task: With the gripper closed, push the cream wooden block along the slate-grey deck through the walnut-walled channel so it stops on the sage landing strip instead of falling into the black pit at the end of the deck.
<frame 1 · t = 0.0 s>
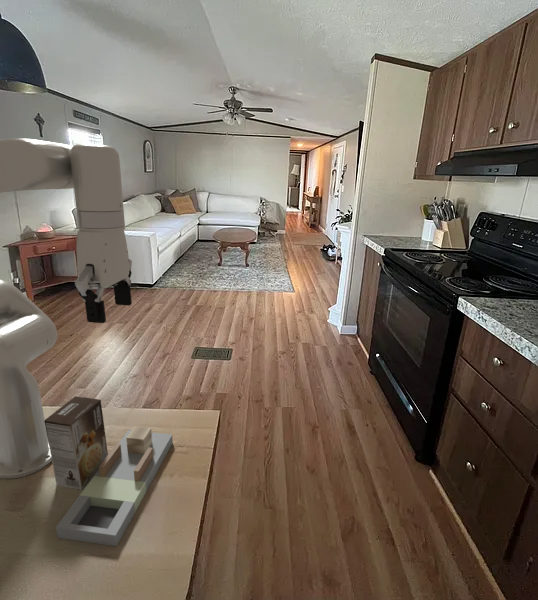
hand: (111, 312, 70), 37 cm above the table, tool pointing down, fingers open, 9 cm apart
tunnel deck: (124, 483, 78), on the table
cream block: (140, 447, 85), point 2 cm above the table, touching tunnel deck
coffee box: (83, 473, 81), on the table
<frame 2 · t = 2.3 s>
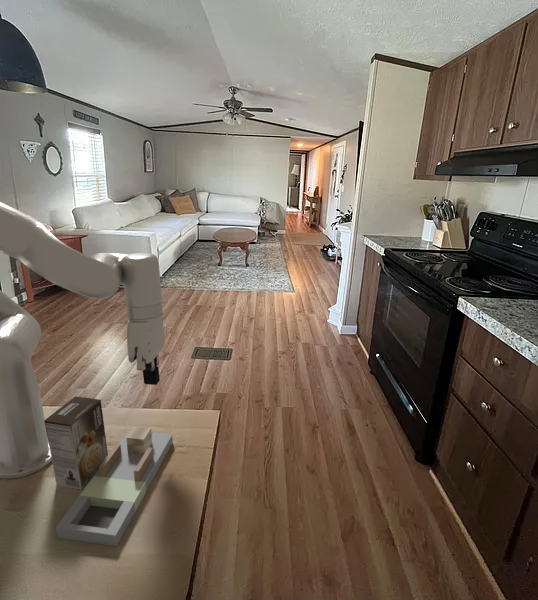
hand: (152, 382, 88), 15 cm above the table, tool pointing down, fingers closed
nothing on the table moved.
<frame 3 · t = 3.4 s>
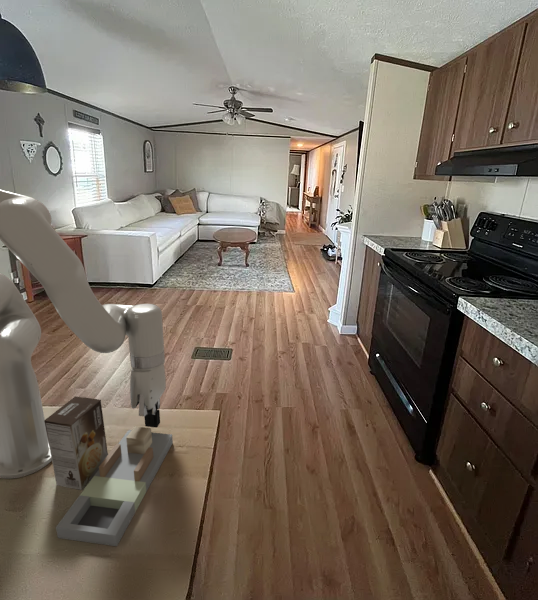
hand: (152, 424, 91), 3 cm above the table, tool pointing down, fingers closed
nothing on the table moved.
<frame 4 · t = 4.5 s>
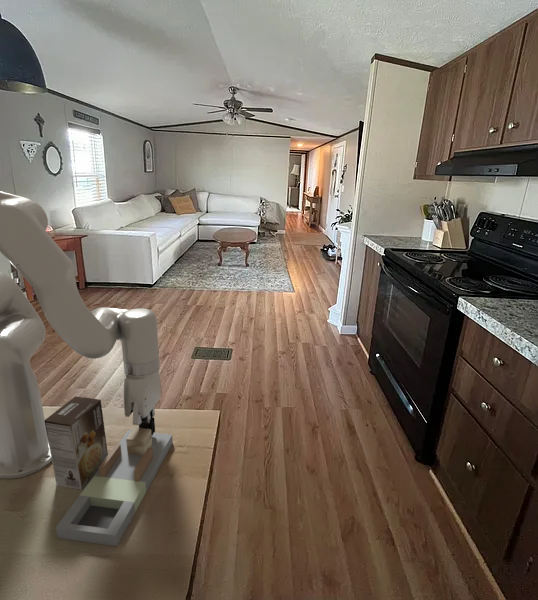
hand: (147, 433, 88), 3 cm above the table, tool pointing down, fingers closed
cream block: (140, 448, 85), point 3 cm above the table, touching gripper
everything else where it was.
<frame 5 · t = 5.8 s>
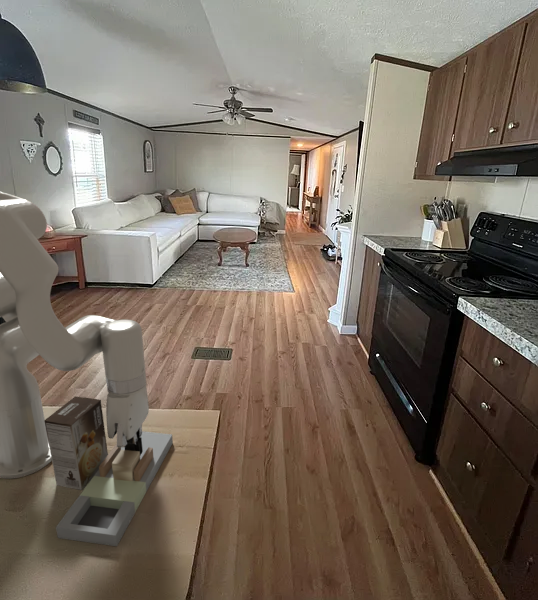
hand: (134, 454, 81), 4 cm above the table, tool pointing down, fingers closed
cream block: (127, 473, 78), point 3 cm above the table, touching gripper
everything else where it was.
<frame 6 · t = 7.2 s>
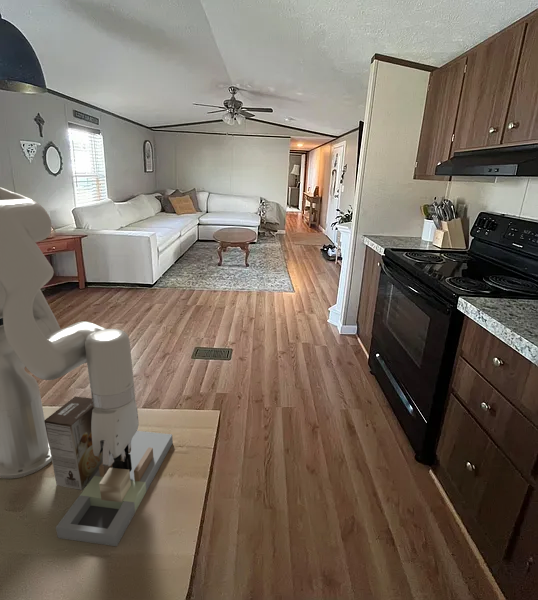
hand: (122, 472, 76), 4 cm above the table, tool pointing down, fingers closed
cream block: (116, 492, 73), point 3 cm above the table, touching gripper, tunnel deck
everything else where it was.
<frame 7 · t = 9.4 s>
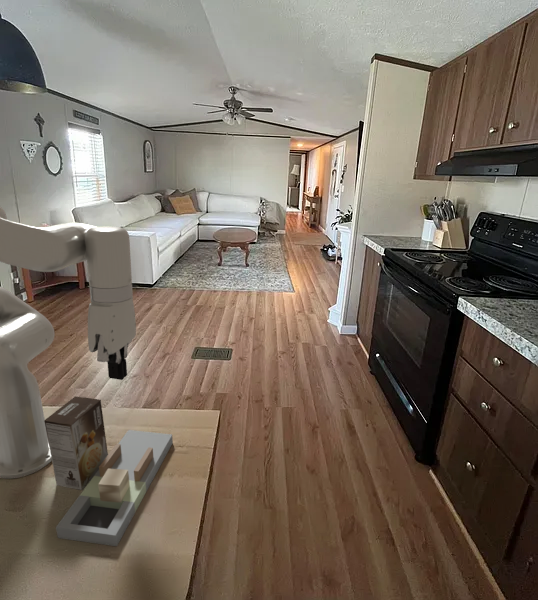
hand: (118, 377, 77), 22 cm above the table, tool pointing down, fingers closed
cream block: (115, 493, 73), point 2 cm above the table, touching tunnel deck
everything else where it was.
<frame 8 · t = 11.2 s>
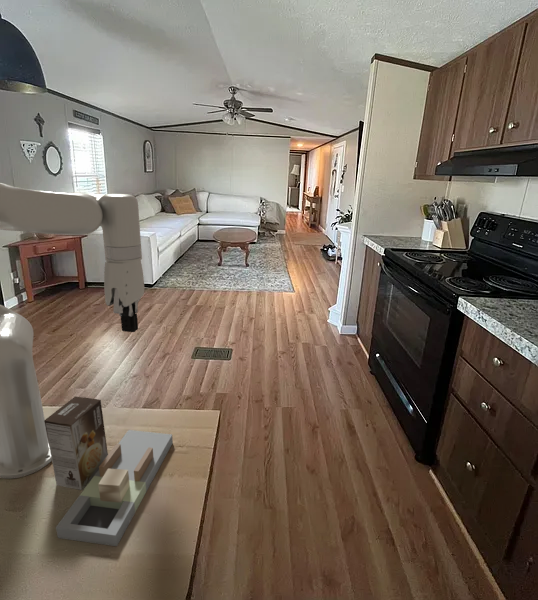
hand: (130, 330, 87), 27 cm above the table, tool pointing down, fingers closed
nothing on the table moved.
at the end: cream block 1.5 cm from the target spot, point 2.5 cm above the table; cream block tilted 0° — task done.
